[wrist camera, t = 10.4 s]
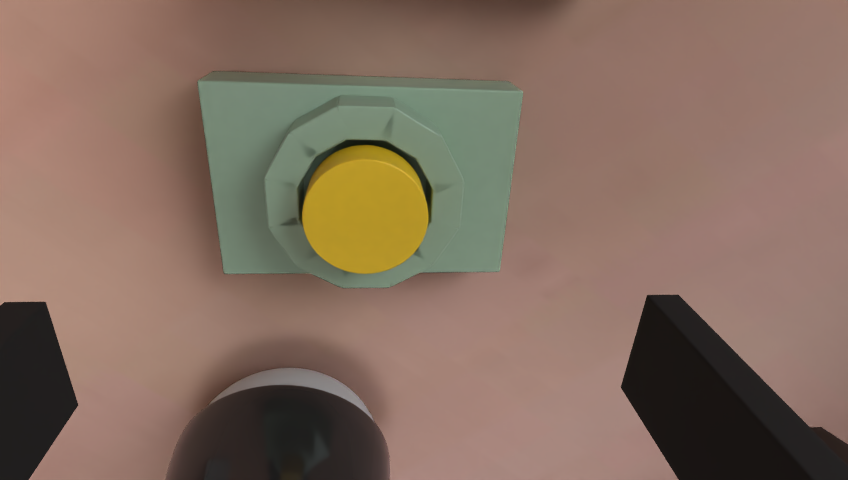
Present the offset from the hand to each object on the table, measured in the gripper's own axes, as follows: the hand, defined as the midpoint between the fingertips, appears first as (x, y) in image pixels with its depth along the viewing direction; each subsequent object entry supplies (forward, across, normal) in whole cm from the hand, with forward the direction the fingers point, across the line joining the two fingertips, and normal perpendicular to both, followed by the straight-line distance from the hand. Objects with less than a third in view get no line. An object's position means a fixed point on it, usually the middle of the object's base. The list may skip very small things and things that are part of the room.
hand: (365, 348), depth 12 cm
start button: (+9, 0, 0) cm, 9 cm away
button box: (+13, 0, 0) cm, 13 cm away
